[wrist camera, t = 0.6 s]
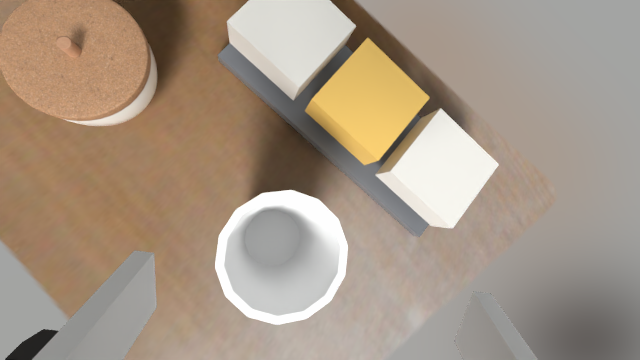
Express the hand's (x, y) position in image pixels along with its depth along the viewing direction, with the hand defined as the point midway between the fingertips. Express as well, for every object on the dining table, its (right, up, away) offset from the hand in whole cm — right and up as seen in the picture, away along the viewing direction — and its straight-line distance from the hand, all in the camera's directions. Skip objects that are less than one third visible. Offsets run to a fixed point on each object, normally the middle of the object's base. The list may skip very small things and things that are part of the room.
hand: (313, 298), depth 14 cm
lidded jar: (-21, +15, +20) cm, 33 cm away
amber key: (+5, +12, +22) cm, 25 cm away
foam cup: (-5, -1, +23) cm, 23 cm away
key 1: (+12, +6, +23) cm, 27 cm away
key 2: (-3, +19, +21) cm, 28 cm away
